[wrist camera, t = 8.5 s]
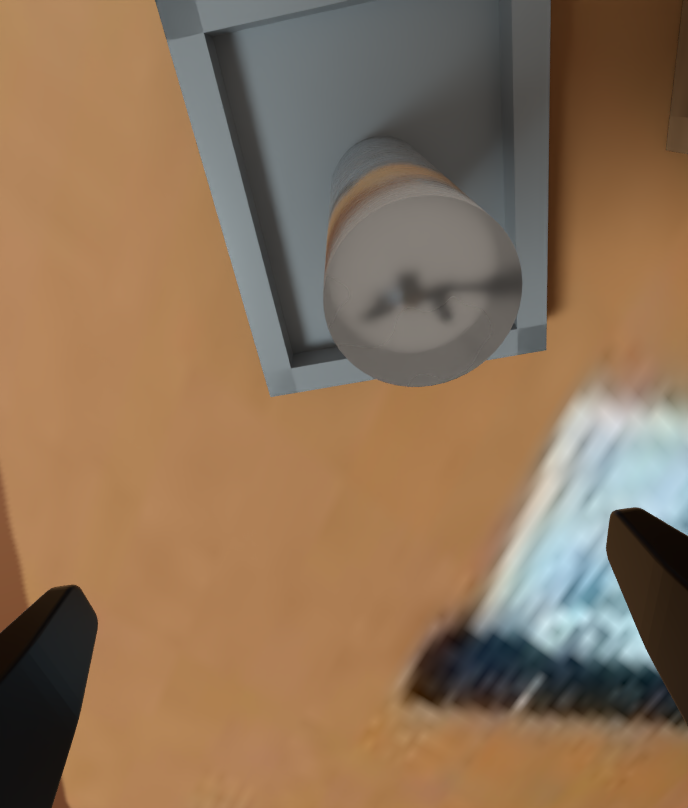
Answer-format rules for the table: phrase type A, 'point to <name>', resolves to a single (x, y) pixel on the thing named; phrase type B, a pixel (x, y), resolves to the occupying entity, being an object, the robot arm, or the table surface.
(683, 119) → the socket
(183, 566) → the table surface
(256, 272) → the tray
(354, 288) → the pin
